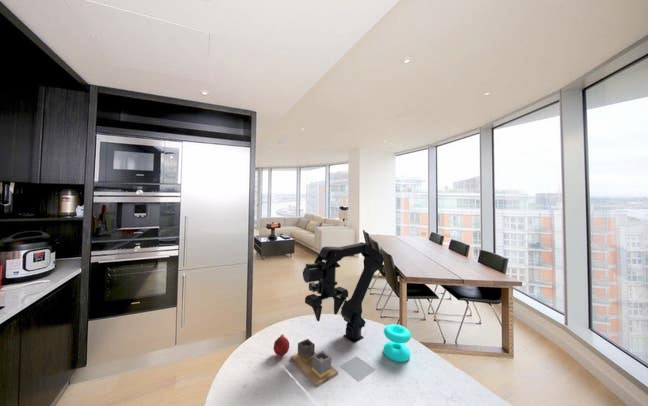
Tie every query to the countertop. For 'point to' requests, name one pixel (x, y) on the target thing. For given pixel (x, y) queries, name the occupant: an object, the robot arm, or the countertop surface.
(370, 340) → the countertop surface
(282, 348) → the onion
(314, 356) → the sleeve
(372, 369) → the mat
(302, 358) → the pin board
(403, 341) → the donuts
